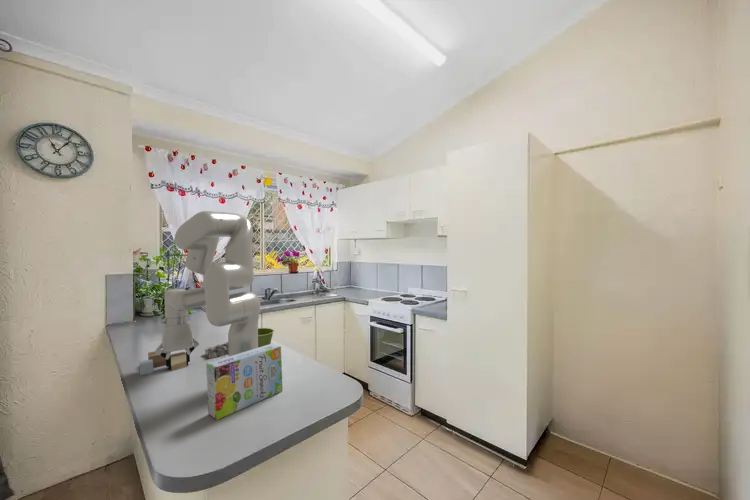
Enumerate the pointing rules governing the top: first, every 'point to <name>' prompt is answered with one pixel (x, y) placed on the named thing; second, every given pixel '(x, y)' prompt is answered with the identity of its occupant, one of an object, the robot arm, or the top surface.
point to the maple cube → (178, 360)
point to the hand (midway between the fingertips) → (178, 365)
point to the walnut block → (157, 359)
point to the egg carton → (217, 350)
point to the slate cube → (146, 367)
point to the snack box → (243, 379)
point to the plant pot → (264, 336)
